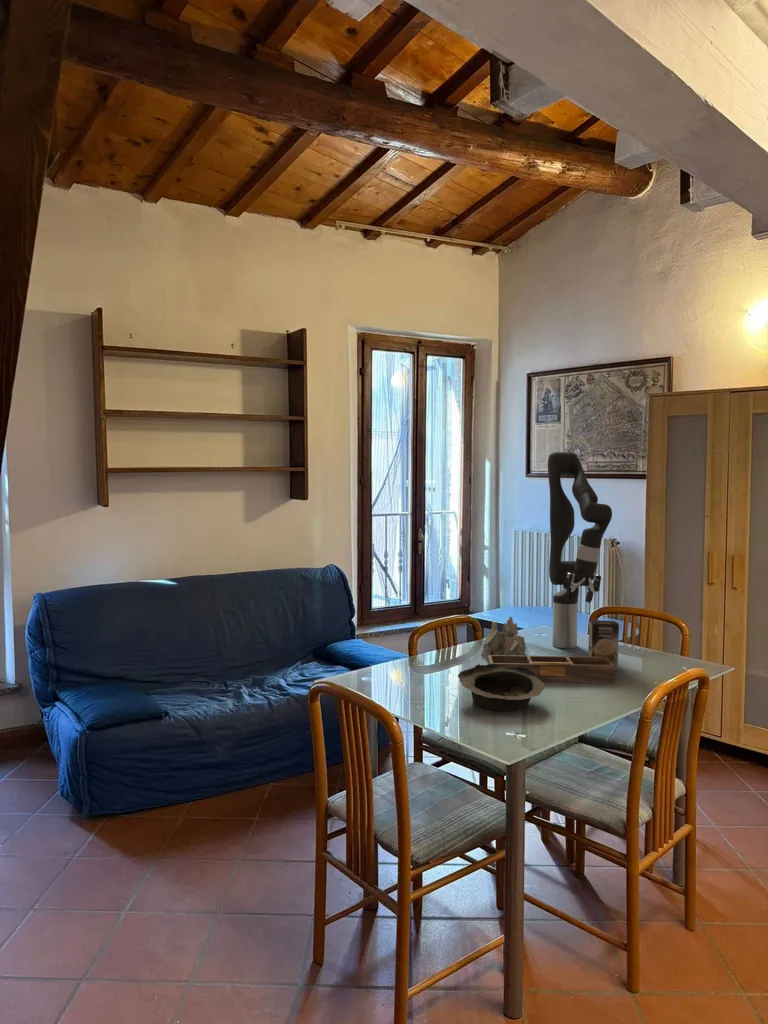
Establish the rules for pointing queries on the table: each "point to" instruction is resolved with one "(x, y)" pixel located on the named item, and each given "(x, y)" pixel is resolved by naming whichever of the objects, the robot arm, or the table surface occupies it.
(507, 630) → the ceramic cottage
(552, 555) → the robot arm
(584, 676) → the brown wooden compartment tray
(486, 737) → the table surface
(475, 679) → the stone bowl
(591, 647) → the coffee box
